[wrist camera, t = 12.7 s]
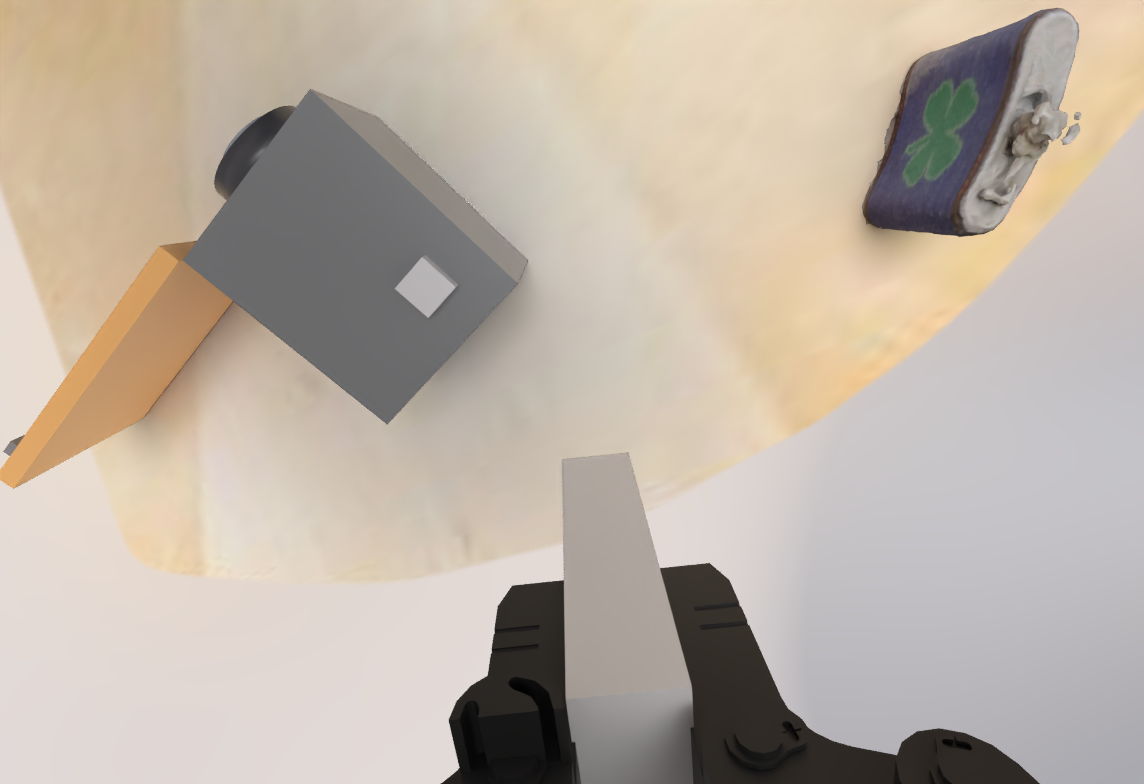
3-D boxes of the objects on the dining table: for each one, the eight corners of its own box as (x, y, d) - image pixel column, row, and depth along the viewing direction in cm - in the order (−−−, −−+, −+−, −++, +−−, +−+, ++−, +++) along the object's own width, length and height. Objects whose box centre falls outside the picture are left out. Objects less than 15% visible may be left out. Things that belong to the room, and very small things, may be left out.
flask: (912, 49, 34) (1079, -16, 23) (962, 62, 34) (1150, 2, 23) (853, 223, 37) (975, 237, 26) (899, 233, 37) (1039, 251, 27)
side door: (252, 222, 36) (143, 233, 27) (277, 243, 36) (178, 261, 27) (118, 401, 40) (-20, 467, 30) (142, 418, 40) (13, 488, 31)
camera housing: (245, 214, 36) (122, 222, 26) (343, 84, 34) (251, 38, 24) (427, 369, 40) (382, 430, 29) (527, 260, 37) (516, 285, 27)
